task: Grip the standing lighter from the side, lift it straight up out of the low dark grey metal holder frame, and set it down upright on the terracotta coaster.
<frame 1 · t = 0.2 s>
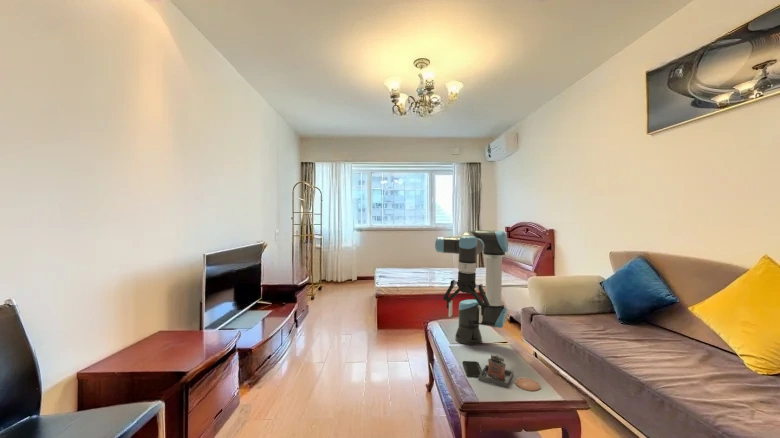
hand: (465, 319, 148), 27 cm above the table, tool pointing down, fingers open, 13 cm apart
coaster: (527, 385, 145), on the table
lighter: (496, 378, 151), resting in holder frame
phone: (472, 370, 158), on the table
holder frame: (496, 378, 151), on the table
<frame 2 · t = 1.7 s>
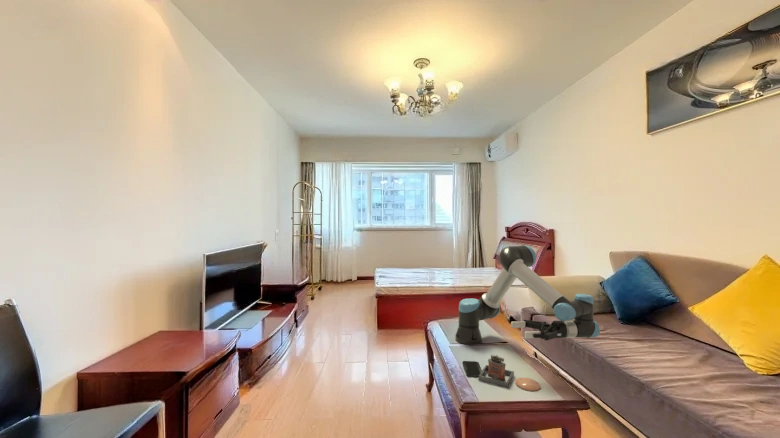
hand: (517, 329, 151), 22 cm above the table, tool horizontal, fingers open, 13 cm apart
nothing on the table moved.
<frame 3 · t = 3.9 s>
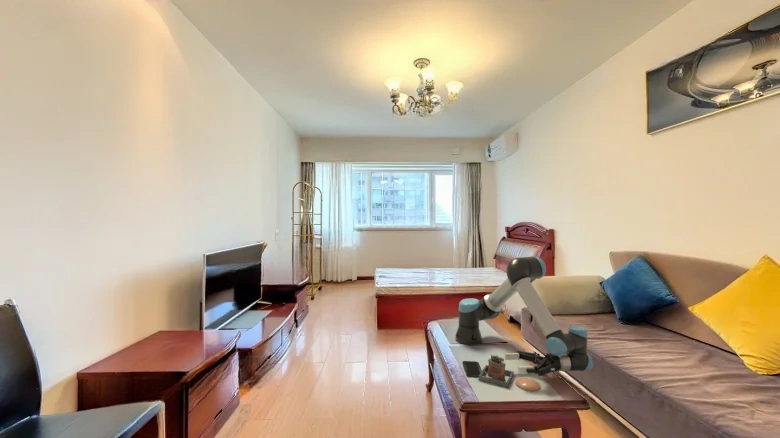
hand: (511, 363, 150), 7 cm above the table, tool horizontal, fingers open, 13 cm apart
nothing on the table moved.
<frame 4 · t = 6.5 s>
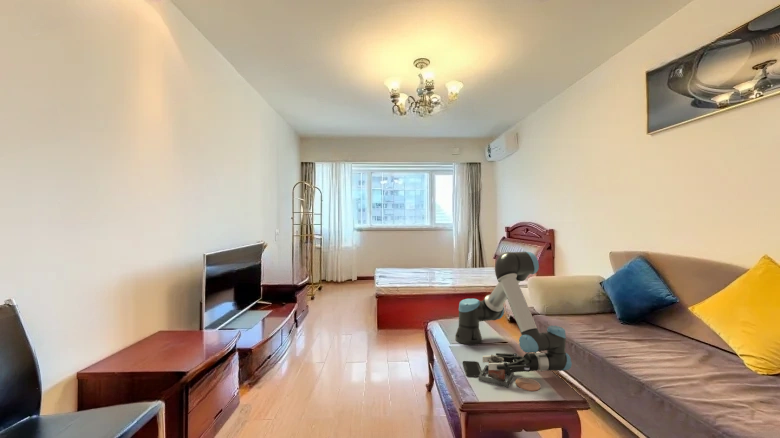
hand: (485, 362, 150), 7 cm above the table, tool horizontal, fingers closed on lighter, 7 cm apart
lighter: (496, 378, 151), resting in holder frame, touching gripper
everything else where it was.
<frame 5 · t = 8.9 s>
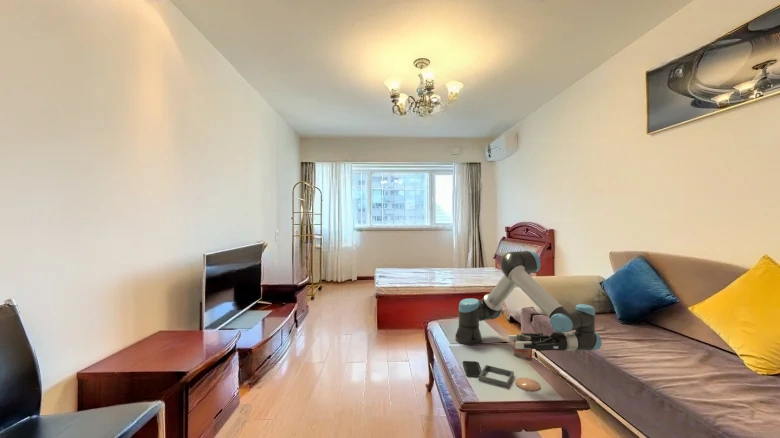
hand: (512, 341, 145), 19 cm above the table, tool horizontal, fingers closed on lighter, 7 cm apart
lighter: (522, 358, 145), point 11 cm above the table, touching gripper
everything else where it was.
when the fingers open (9 cm above the table, at t = 11.6 s): lighter drops 1 cm, resting on coaster.
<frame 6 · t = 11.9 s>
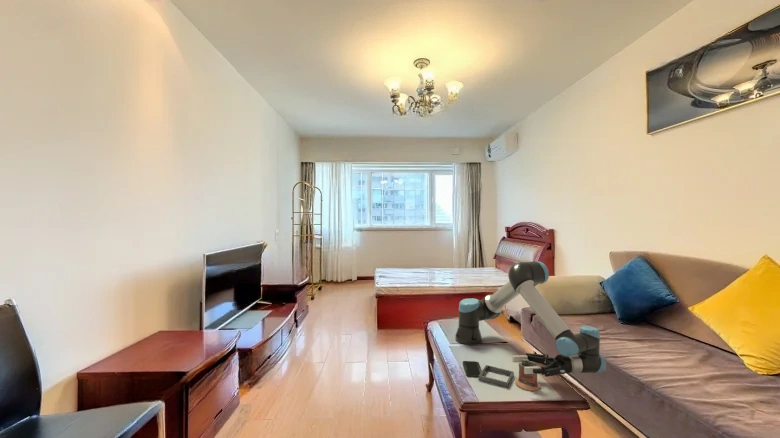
hand: (518, 364, 144), 9 cm above the table, tool horizontal, fingers open, 10 cm apart
lighter: (527, 383, 145), point 1 cm above the table, touching coaster
everything else where it was.
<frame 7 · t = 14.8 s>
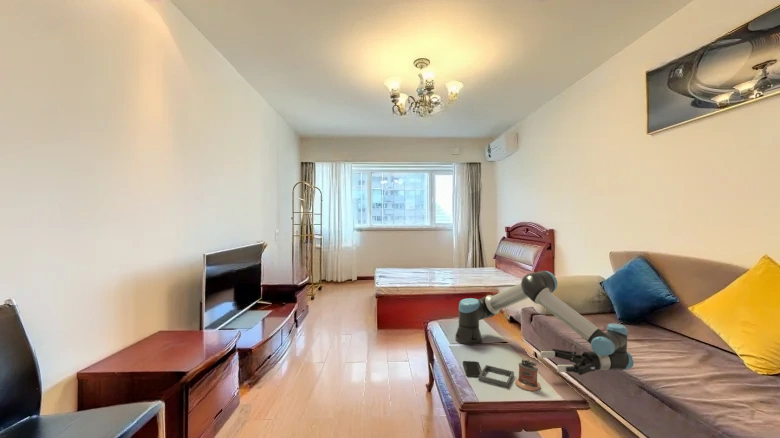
hand: (548, 361, 146), 10 cm above the table, tool horizontal, fingers open, 13 cm apart
nothing on the table moved.
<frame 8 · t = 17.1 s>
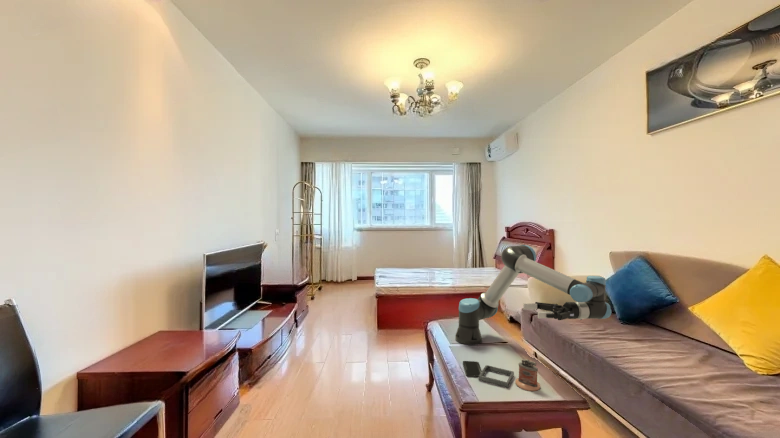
hand: (530, 310, 152), 30 cm above the table, tool horizontal, fingers open, 13 cm apart
nothing on the table moved.
at the end: lighter 0.0 cm from the coaster (horizontally); lighter tilted 0°; the gripper is holding nothing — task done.
